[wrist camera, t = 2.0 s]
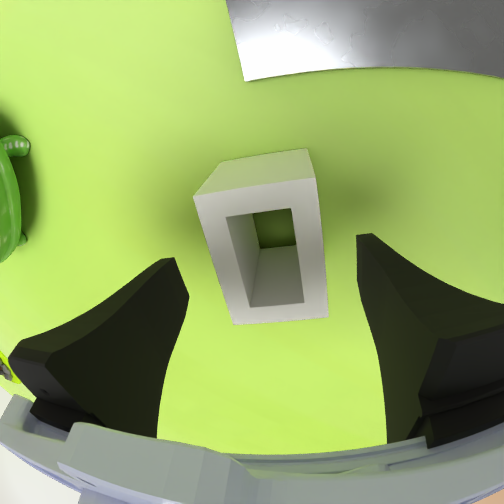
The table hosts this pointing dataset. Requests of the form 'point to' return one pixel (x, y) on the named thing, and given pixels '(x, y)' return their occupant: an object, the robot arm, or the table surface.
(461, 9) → the duct plate
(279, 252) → the duct sleeve
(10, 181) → the turtle holder
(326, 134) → the table surface
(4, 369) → the toy cauldron
